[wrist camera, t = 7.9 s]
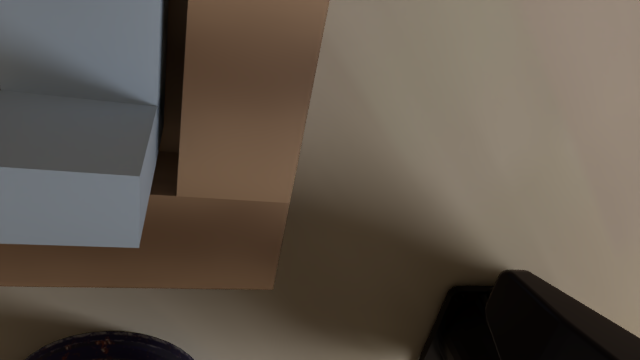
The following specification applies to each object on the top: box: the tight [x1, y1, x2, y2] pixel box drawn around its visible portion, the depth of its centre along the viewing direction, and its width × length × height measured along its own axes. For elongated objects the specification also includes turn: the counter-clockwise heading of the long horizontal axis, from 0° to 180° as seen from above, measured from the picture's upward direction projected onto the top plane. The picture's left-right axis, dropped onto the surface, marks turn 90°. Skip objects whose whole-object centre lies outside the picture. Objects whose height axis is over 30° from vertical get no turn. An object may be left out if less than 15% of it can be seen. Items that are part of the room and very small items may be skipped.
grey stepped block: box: [0, 0, 169, 248], centre depth 13 cm, size 6×4×7 cm, turn 169°
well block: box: [0, 0, 330, 290], centre depth 14 cm, size 16×13×4 cm
